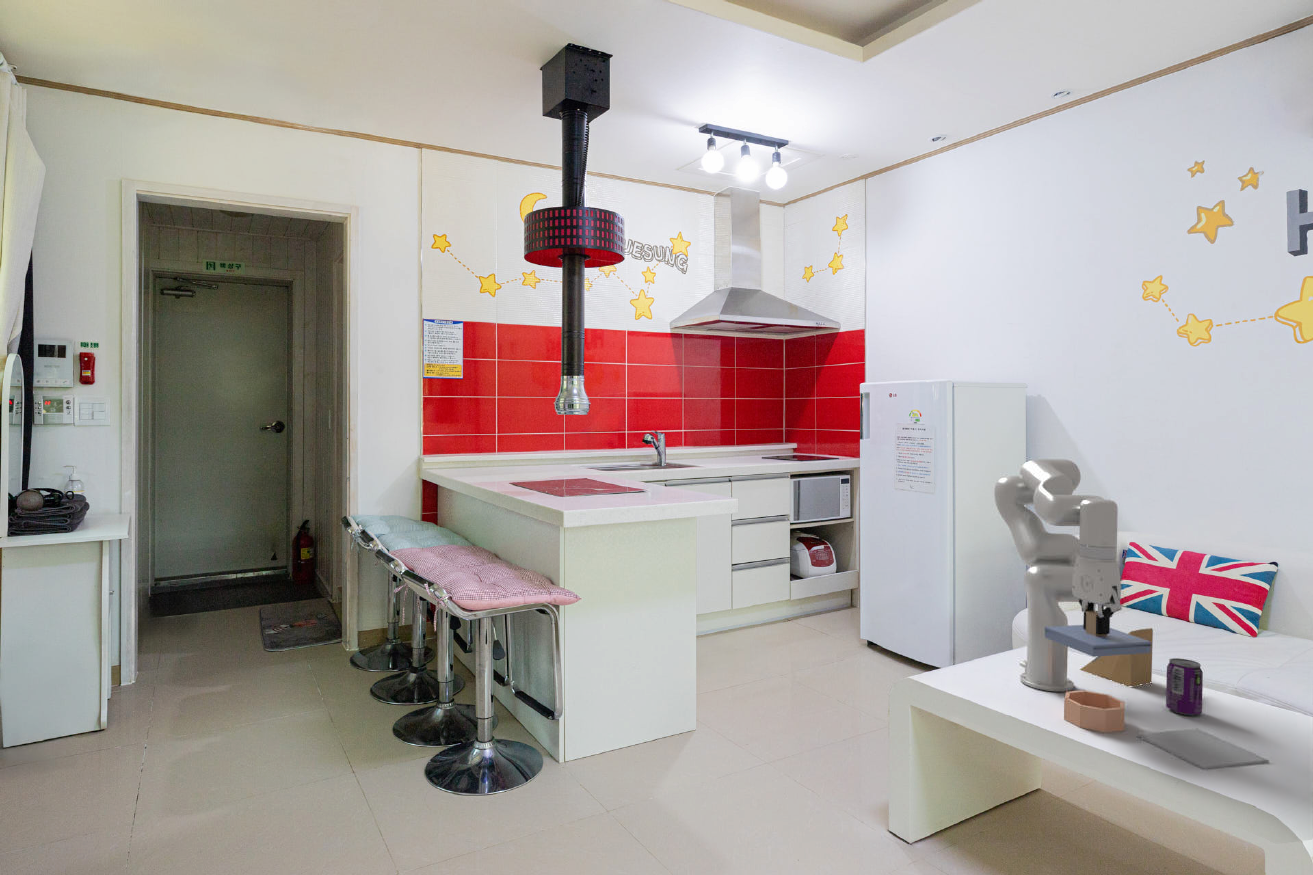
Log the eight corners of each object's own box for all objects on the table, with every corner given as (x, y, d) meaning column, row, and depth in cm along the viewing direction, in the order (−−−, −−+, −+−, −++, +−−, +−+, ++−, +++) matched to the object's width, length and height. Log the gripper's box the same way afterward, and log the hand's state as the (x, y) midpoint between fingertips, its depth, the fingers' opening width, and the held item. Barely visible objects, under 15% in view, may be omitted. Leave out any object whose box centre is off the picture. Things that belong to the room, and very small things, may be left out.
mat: (1137, 736, 165) (1137, 733, 165) (1197, 730, 169) (1197, 728, 169) (1203, 769, 150) (1203, 766, 150) (1268, 762, 153) (1268, 759, 153)
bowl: (1053, 713, 178) (1053, 692, 178) (1096, 709, 181) (1096, 689, 180) (1091, 733, 167) (1092, 711, 166) (1137, 729, 169) (1137, 707, 169)
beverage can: (1208, 718, 176) (1209, 667, 175) (1174, 716, 177) (1175, 665, 177) (1192, 707, 183) (1193, 658, 182) (1160, 704, 184) (1161, 656, 184)
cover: (1044, 637, 179) (1045, 606, 179) (1098, 634, 182) (1099, 603, 182) (1093, 656, 164) (1093, 622, 164) (1150, 652, 167) (1151, 619, 167)
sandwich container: (1099, 666, 214) (1100, 614, 213) (1152, 683, 200) (1153, 627, 199) (1078, 669, 211) (1078, 616, 210) (1130, 687, 196) (1131, 631, 196)
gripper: (1057, 547, 180) (1056, 623, 180) (1111, 559, 164) (1110, 642, 164) (1084, 546, 181) (1083, 621, 182) (1141, 558, 165) (1139, 641, 166)
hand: (1096, 630), depth 173 cm, fingers closed on cover, 3 cm apart
